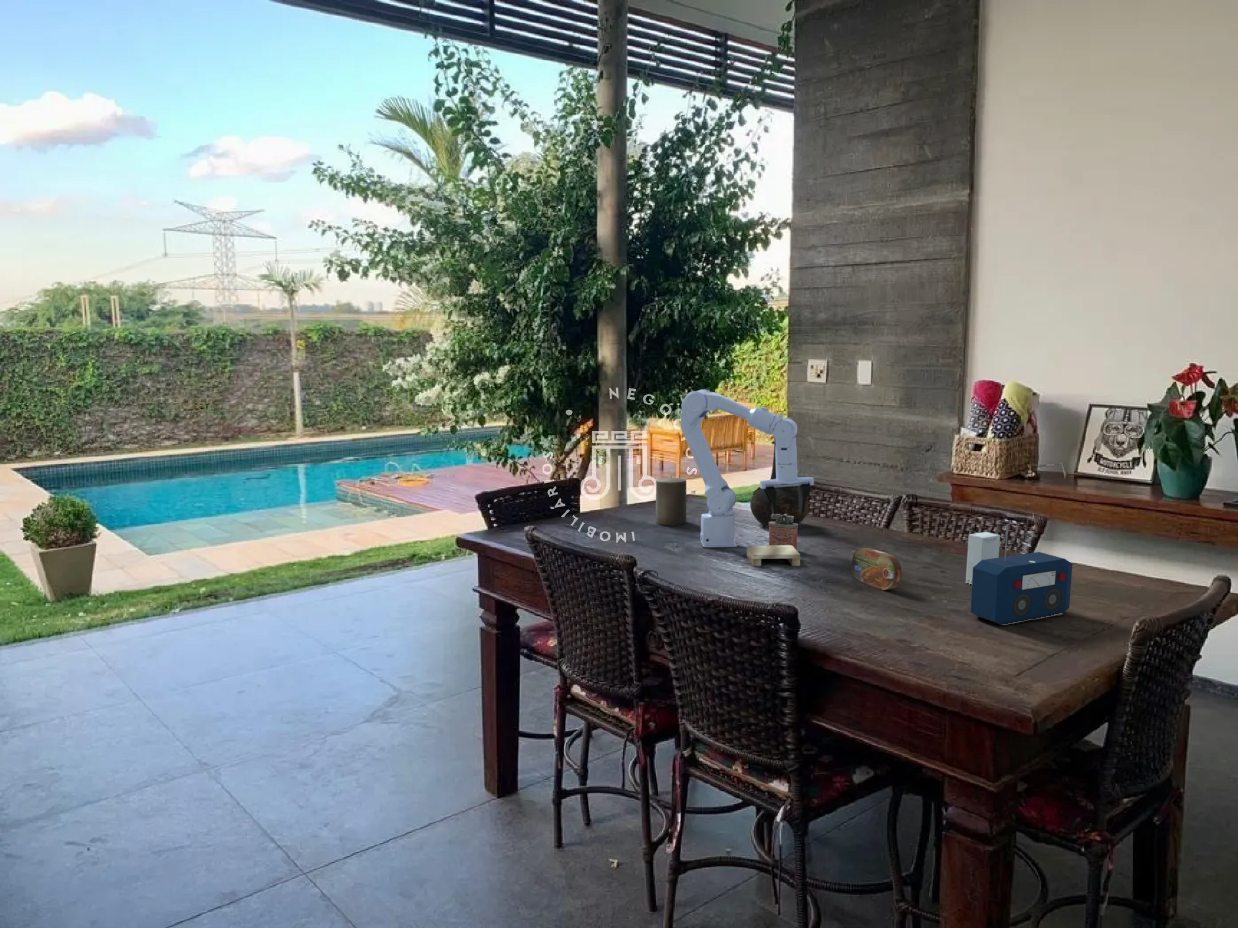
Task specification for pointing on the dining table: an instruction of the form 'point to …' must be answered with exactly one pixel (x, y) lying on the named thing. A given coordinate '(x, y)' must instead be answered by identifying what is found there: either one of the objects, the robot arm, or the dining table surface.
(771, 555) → the shelf stand
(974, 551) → the skincare box
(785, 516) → the lighter
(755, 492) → the dark brown vase
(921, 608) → the dining table surface
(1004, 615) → the radio
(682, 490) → the pillar candle
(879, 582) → the tin
